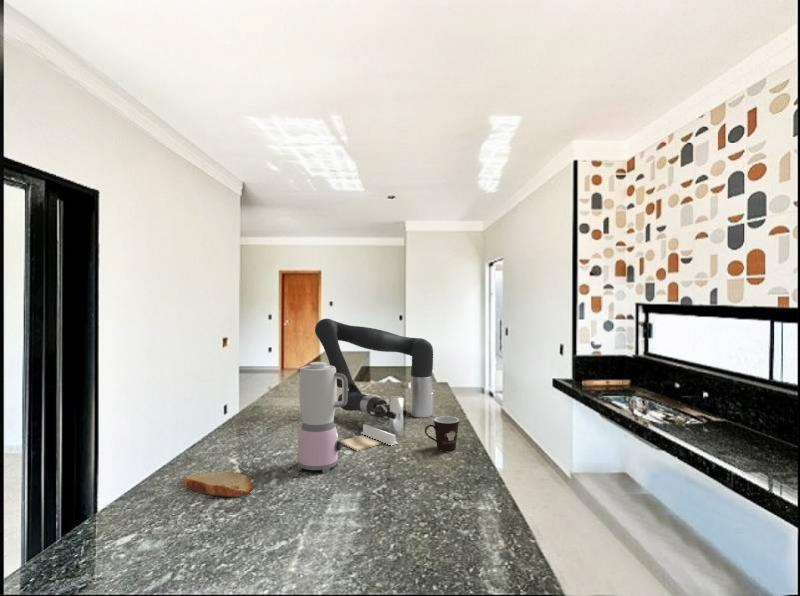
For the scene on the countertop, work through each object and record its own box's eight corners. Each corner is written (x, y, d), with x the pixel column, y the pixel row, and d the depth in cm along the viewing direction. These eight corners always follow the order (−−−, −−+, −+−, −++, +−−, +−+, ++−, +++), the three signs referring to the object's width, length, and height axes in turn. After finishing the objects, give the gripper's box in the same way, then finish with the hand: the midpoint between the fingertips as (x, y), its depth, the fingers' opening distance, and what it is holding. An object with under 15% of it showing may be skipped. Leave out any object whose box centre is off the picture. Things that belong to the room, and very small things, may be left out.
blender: (290, 472, 138) (290, 365, 138) (306, 458, 150) (306, 359, 150) (341, 476, 135) (341, 367, 135) (353, 461, 147) (353, 361, 147)
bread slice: (182, 481, 132) (182, 468, 132) (248, 472, 139) (248, 459, 139) (179, 509, 116) (179, 494, 116) (254, 496, 123) (254, 482, 123)
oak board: (362, 437, 171) (362, 435, 171) (380, 444, 163) (380, 442, 163) (339, 443, 165) (339, 440, 165) (357, 451, 157) (357, 449, 157)
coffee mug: (458, 444, 163) (458, 416, 163) (459, 453, 155) (459, 423, 155) (425, 443, 164) (425, 415, 164) (424, 452, 156) (424, 422, 156)
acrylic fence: (367, 432, 177) (367, 423, 177) (397, 444, 164) (397, 434, 164) (360, 434, 175) (360, 424, 175) (391, 446, 162) (391, 436, 162)
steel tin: (397, 431, 179) (397, 395, 178) (406, 434, 175) (406, 397, 175) (386, 434, 175) (386, 397, 175) (395, 437, 171) (395, 399, 171)
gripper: (358, 399, 181) (386, 407, 168) (387, 394, 190) (415, 401, 178) (358, 418, 181) (386, 428, 168) (387, 412, 190) (415, 421, 178)
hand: (400, 414), depth 173 cm, fingers open, 5 cm apart
